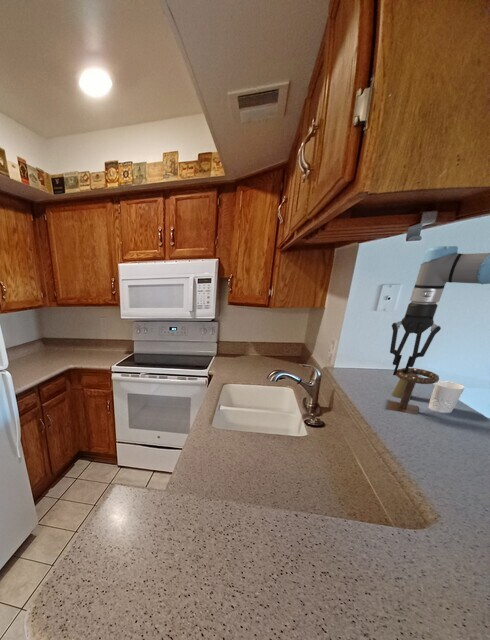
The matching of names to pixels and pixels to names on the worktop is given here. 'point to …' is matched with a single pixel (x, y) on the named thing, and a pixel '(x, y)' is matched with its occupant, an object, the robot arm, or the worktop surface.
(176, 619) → the worktop surface
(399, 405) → the stand
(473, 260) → the robot arm
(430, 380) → the ring
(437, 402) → the white cup
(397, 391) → the cork
